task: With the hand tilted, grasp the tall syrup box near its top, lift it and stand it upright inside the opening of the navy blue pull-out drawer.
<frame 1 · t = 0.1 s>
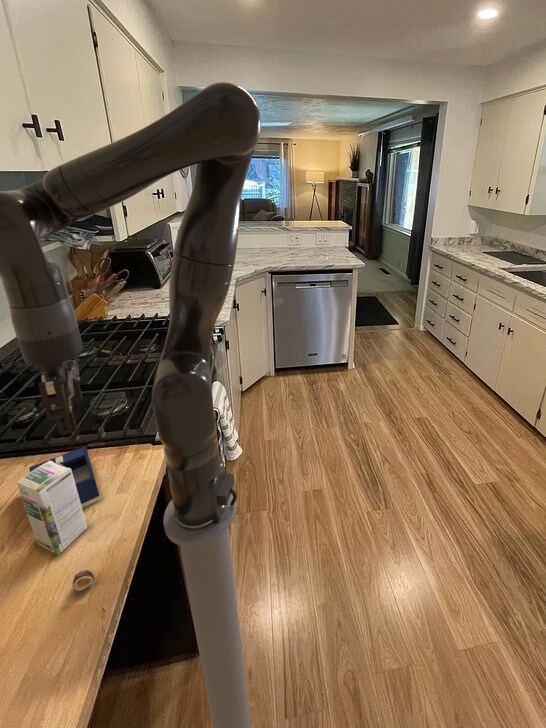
hand: (72, 416, 60), 25 cm above the countertop, tool pointing down, fingers open, 8 cm apart
navy blue pull-out drawer: (67, 493, 74), on the countertop
chocolate: (86, 584, 58), on the countertop
syrup box: (63, 536, 66), on the countertop
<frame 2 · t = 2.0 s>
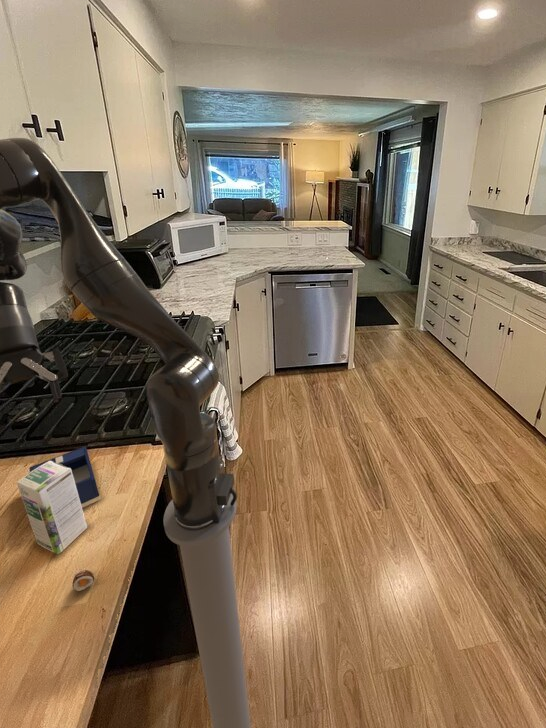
hand: (28, 409, 66), 22 cm above the countertop, tool tilted 45°, fingers open, 8 cm apart
nothing on the countertop moved.
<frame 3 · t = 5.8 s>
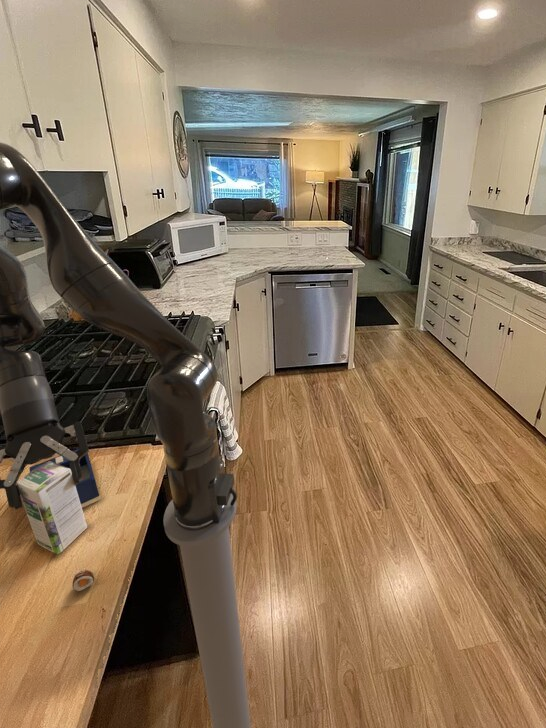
hand: (49, 495, 61), 11 cm above the countertop, tool tilted 45°, fingers closed on syrup box, 7 cm apart
syrup box: (63, 536, 66), on the countertop, touching gripper
everything else where it was.
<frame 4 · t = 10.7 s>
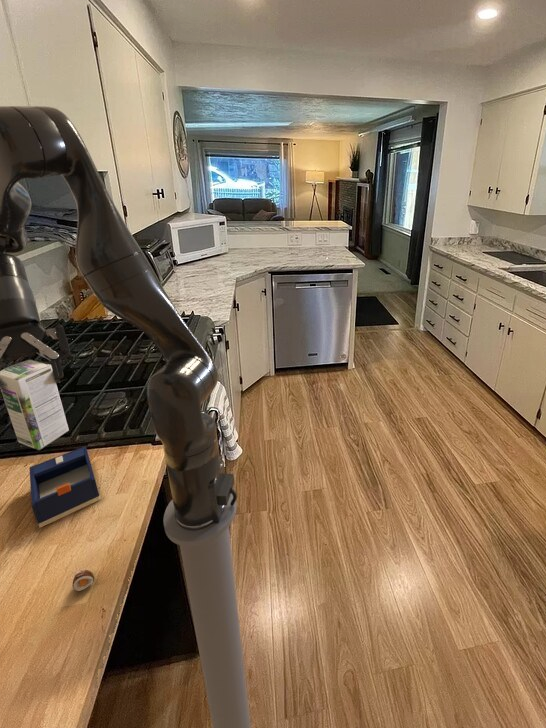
hand: (29, 388, 61), 28 cm above the countertop, tool tilted 45°, fingers closed on syrup box, 7 cm apart
syrup box: (45, 437, 66), point 17 cm above the countertop, touching gripper
everything else where it was.
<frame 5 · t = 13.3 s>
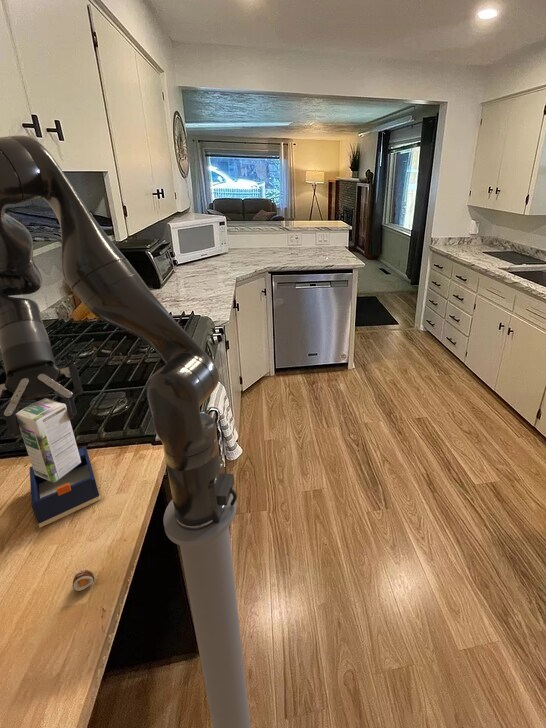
hand: (45, 427, 66), 19 cm above the countertop, tool tilted 45°, fingers closed on syrup box, 7 cm apart
syrup box: (59, 469, 71), point 7 cm above the countertop, touching gripper
everything else where it was.
when the fingers open (12 cm above the countertop, at t = 15.7 s): syrup box stays where it is, resting on navy blue pull-out drawer.
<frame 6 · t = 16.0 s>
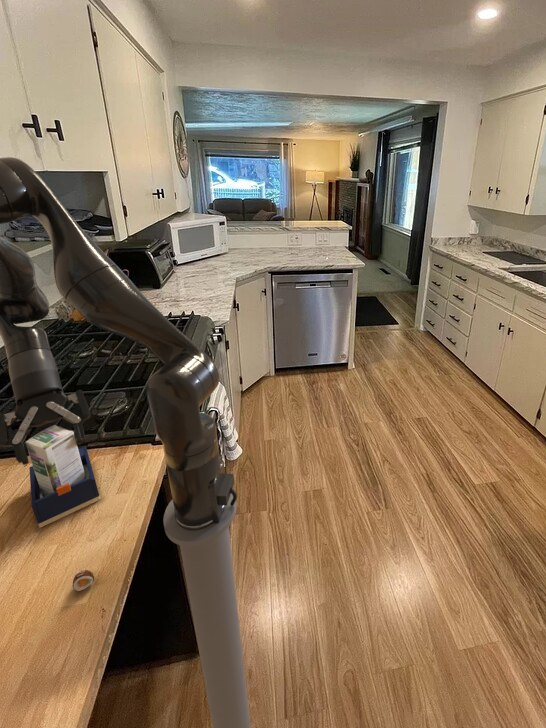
hand: (54, 453, 68), 12 cm above the countertop, tool tilted 45°, fingers open, 8 cm apart
syrup box: (67, 493, 73), point 1 cm above the countertop, touching navy blue pull-out drawer
everything else where it was.
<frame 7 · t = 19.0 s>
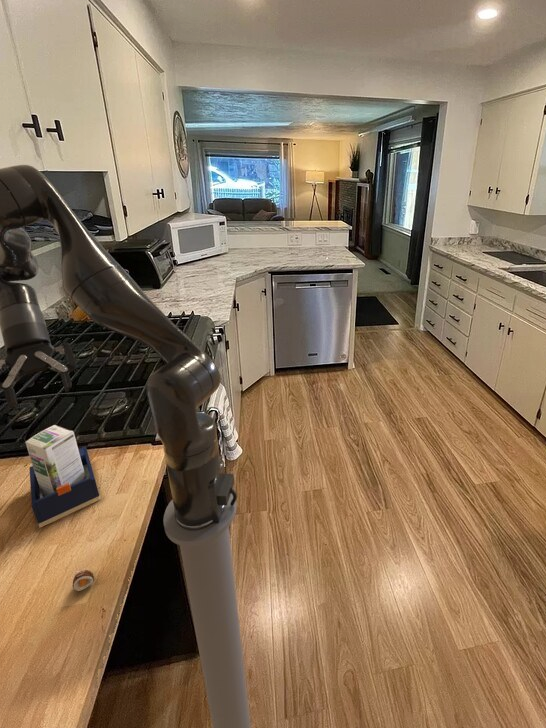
hand: (42, 398, 73), 19 cm above the countertop, tool tilted 45°, fingers open, 8 cm apart
nothing on the countertop moved.
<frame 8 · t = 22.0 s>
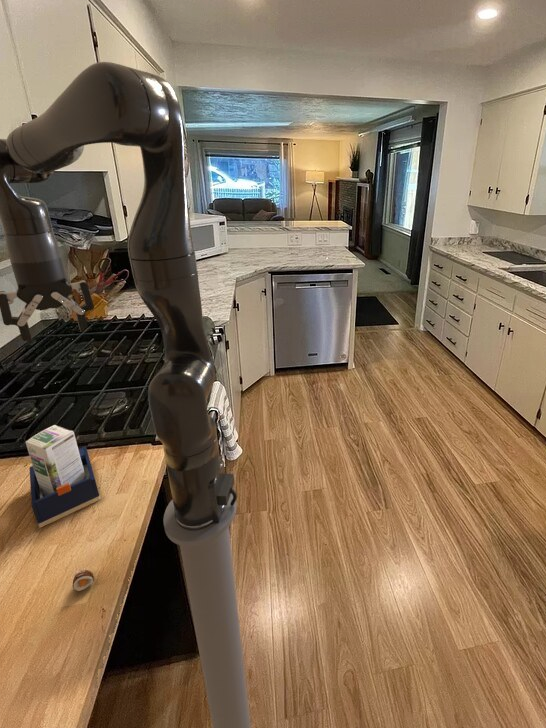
hand: (57, 335, 72), 32 cm above the countertop, tool pointing down, fingers open, 8 cm apart
nothing on the countertop moved.
at the end: syrup box 0.2 cm off-centre on the navy blue pull-out drawer, point 0.8 cm above the navy blue pull-out drawer's base; syrup box tilted 0°; the gripper is holding nothing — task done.
